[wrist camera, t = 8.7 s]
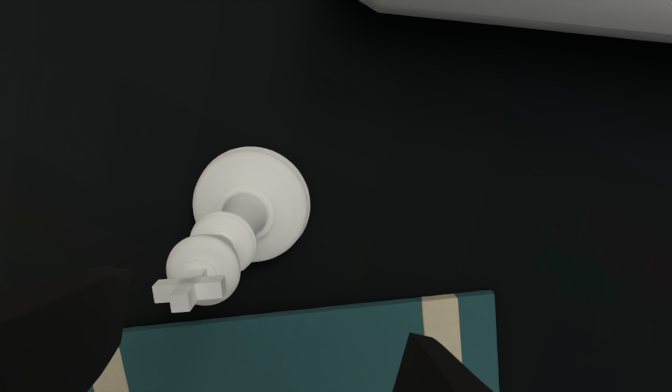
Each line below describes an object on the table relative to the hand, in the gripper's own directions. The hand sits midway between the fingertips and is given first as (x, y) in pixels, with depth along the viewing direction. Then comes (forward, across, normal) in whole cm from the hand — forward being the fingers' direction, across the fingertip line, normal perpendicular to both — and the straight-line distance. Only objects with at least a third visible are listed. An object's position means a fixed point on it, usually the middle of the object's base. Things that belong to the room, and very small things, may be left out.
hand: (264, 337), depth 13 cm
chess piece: (+10, +2, -1) cm, 10 cm away
